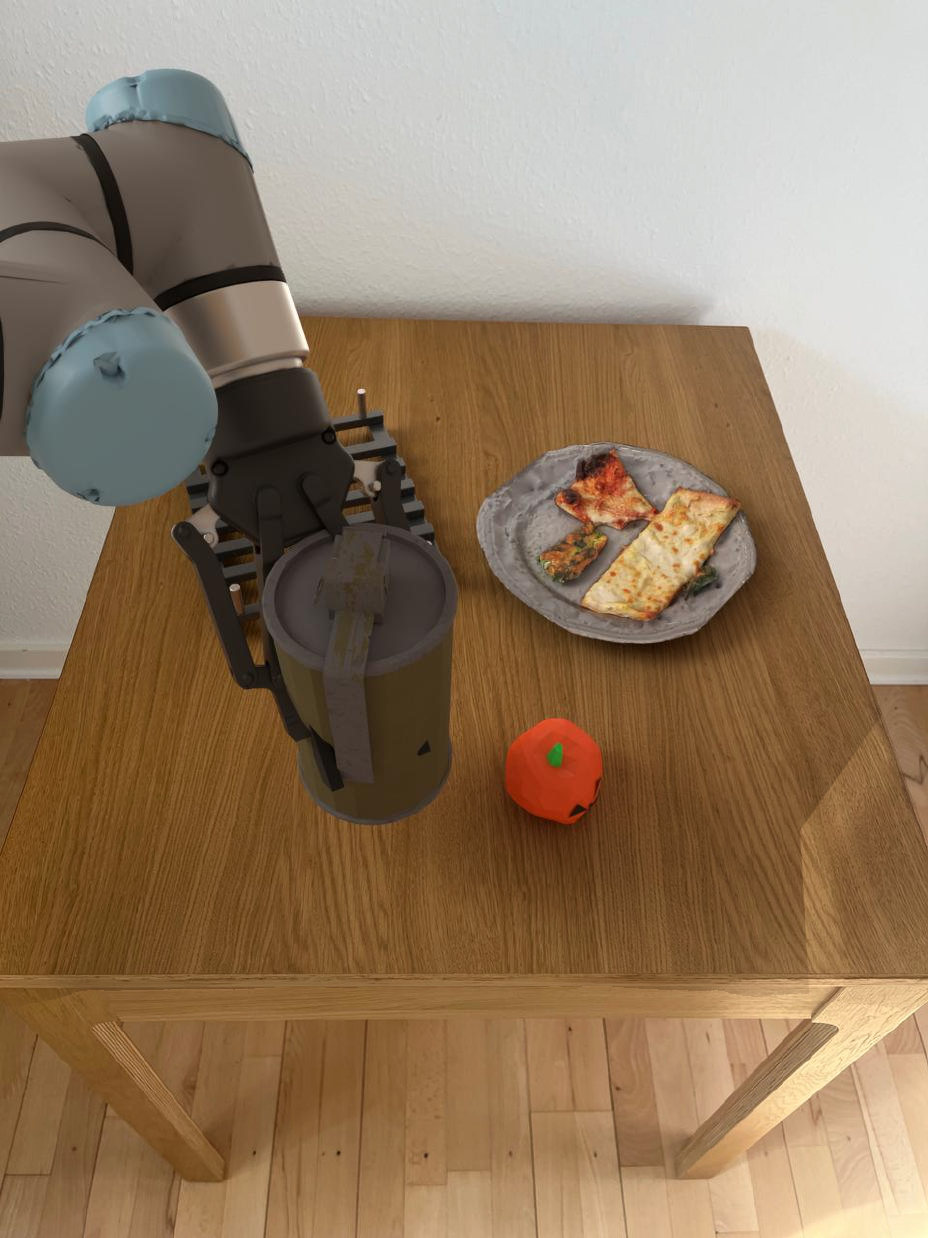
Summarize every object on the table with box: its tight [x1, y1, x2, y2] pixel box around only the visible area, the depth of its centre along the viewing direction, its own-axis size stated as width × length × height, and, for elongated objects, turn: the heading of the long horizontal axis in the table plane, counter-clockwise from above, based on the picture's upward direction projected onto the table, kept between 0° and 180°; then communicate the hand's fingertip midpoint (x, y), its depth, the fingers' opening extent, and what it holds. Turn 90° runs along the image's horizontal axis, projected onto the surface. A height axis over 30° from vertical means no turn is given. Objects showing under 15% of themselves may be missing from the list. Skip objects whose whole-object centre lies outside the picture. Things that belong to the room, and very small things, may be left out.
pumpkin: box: [505, 717, 603, 825], centre depth 68 cm, size 7×8×6 cm
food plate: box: [475, 440, 758, 645], centre depth 85 cm, size 25×23×4 cm
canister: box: [262, 523, 459, 826], centre depth 56 cm, size 11×10×20 cm
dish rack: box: [184, 388, 449, 624], centre depth 85 cm, size 20×22×6 cm
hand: (376, 765), depth 56 cm, fingers closed on canister, 5 cm apart
